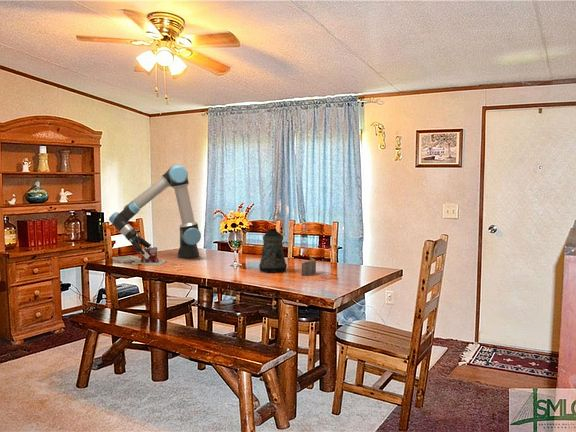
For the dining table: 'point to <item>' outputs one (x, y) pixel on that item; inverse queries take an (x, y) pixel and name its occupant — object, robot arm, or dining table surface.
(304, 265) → the grey rectangular block
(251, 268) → the dining table surface
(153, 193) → the robot arm
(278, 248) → the dark tapered vessel
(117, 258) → the cream bay
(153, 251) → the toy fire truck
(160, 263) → the grey bay
